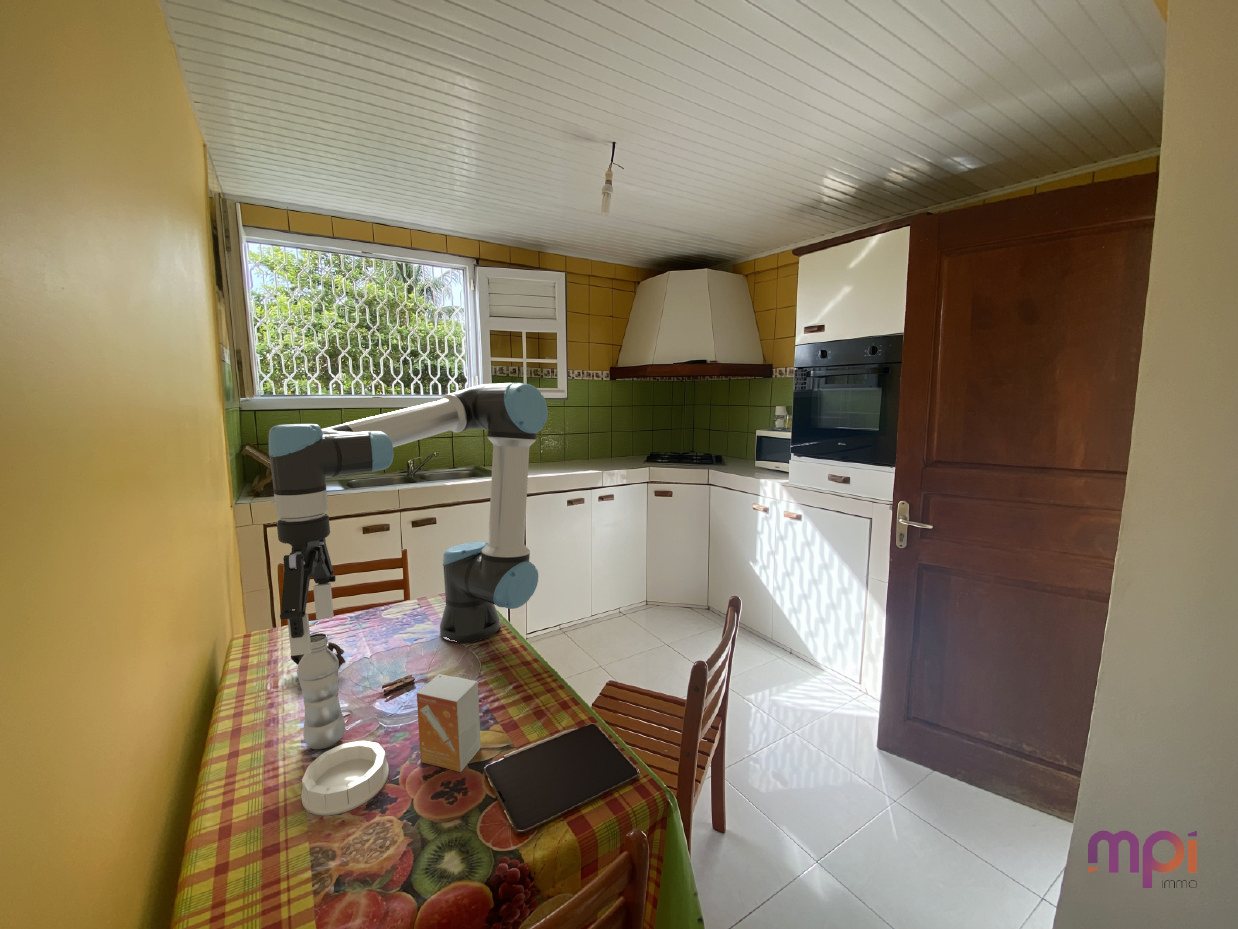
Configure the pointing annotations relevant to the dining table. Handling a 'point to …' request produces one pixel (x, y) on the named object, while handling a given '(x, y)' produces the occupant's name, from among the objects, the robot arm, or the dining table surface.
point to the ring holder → (344, 778)
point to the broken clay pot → (331, 646)
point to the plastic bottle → (320, 694)
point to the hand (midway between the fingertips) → (314, 634)
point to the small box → (449, 722)
